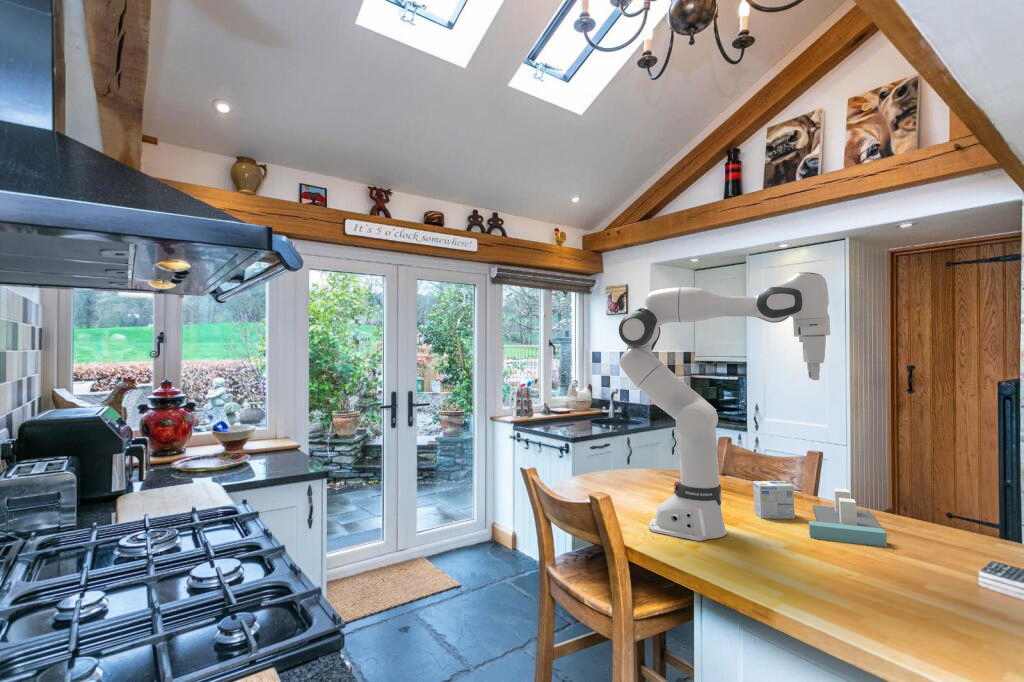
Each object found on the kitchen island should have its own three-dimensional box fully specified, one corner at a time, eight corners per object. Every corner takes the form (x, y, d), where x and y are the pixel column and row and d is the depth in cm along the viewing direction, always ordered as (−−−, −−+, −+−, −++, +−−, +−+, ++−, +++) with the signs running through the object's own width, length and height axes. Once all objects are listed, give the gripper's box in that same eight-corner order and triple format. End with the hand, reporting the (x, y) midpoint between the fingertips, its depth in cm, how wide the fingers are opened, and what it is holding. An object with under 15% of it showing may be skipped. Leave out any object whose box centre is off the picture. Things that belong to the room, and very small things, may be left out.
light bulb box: (786, 512, 167) (785, 480, 168) (795, 519, 161) (794, 485, 161) (753, 512, 168) (751, 480, 169) (761, 519, 162) (759, 485, 162)
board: (819, 529, 151) (818, 501, 151) (812, 508, 171) (811, 484, 171) (884, 536, 144) (882, 507, 144) (869, 514, 164) (868, 488, 164)
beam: (810, 538, 144) (809, 524, 145) (809, 534, 148) (808, 520, 148) (886, 548, 136) (886, 533, 137) (883, 543, 140) (883, 528, 140)
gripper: (796, 331, 151) (798, 377, 151) (801, 329, 133) (803, 381, 132) (820, 330, 148) (823, 377, 148) (828, 327, 130) (831, 381, 130)
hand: (813, 379), depth 140 cm, fingers open, 8 cm apart
